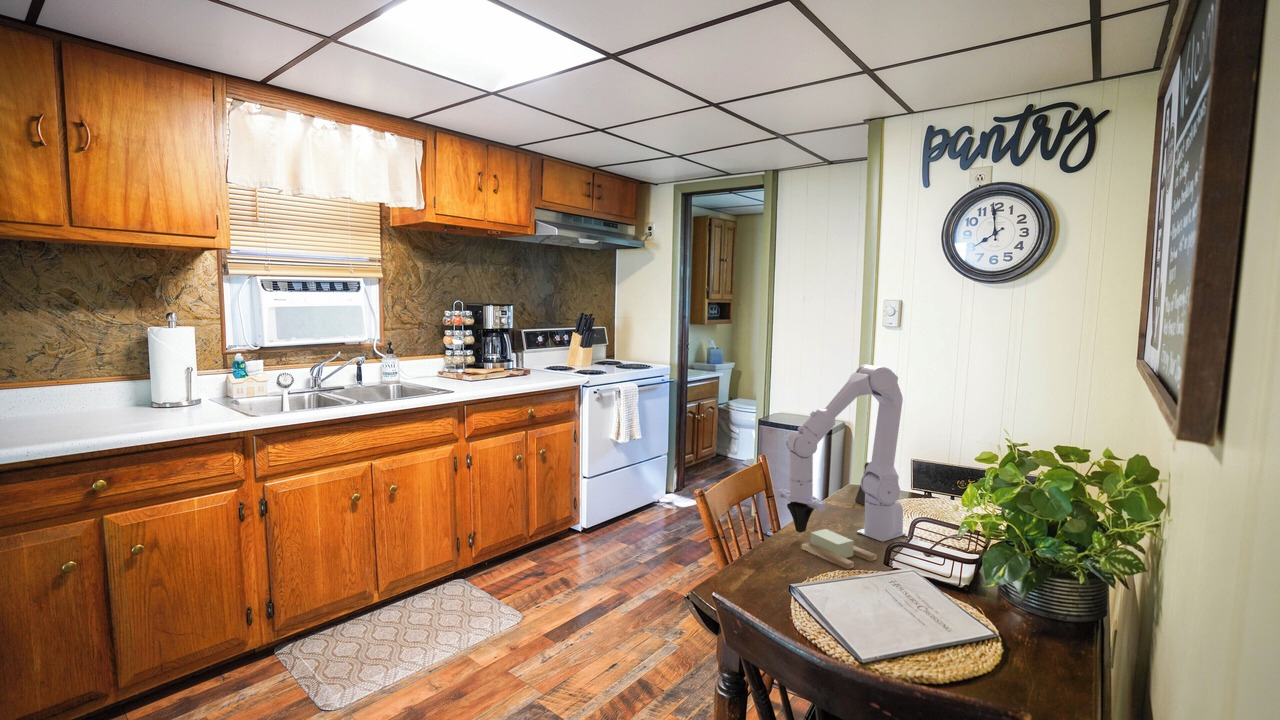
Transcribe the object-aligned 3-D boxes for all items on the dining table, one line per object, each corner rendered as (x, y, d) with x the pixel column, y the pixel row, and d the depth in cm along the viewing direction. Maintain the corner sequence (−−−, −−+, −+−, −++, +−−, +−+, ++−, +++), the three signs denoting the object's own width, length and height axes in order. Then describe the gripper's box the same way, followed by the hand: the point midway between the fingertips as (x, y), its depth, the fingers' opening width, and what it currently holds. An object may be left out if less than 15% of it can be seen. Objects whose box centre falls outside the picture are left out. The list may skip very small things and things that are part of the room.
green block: (825, 544, 150) (825, 528, 150) (853, 557, 142) (853, 540, 142) (810, 548, 148) (810, 532, 147) (837, 561, 140) (837, 544, 139)
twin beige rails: (829, 540, 151) (829, 536, 151) (876, 559, 139) (876, 554, 139) (801, 549, 146) (801, 544, 146) (847, 569, 134) (847, 563, 134)
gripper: (769, 475, 156) (769, 525, 157) (811, 488, 144) (811, 543, 145) (789, 471, 160) (789, 520, 161) (831, 483, 147) (831, 537, 148)
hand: (800, 531), depth 153 cm, fingers closed
